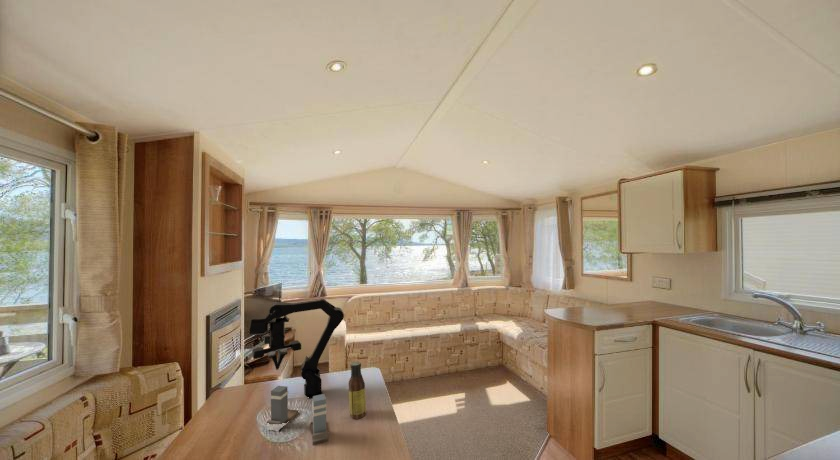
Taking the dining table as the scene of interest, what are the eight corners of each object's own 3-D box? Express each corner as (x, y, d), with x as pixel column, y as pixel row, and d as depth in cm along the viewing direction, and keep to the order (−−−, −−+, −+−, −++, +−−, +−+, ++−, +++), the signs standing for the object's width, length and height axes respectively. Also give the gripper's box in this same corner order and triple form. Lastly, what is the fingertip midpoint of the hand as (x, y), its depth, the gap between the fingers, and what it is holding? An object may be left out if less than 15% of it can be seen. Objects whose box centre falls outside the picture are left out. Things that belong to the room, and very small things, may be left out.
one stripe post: (278, 417, 115) (278, 385, 115) (288, 418, 114) (288, 386, 114) (270, 424, 110) (270, 391, 111) (280, 425, 110) (280, 392, 110)
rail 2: (310, 425, 111) (310, 417, 112) (324, 421, 113) (324, 413, 114) (312, 445, 100) (312, 435, 101) (328, 440, 102) (328, 431, 103)
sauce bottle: (369, 412, 119) (368, 361, 119) (359, 421, 113) (358, 367, 114) (355, 409, 122) (354, 359, 122) (345, 417, 116) (344, 365, 117)
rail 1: (287, 411, 121) (287, 404, 121) (298, 412, 120) (298, 405, 120) (266, 430, 109) (266, 421, 109) (279, 431, 108) (278, 423, 108)
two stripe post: (312, 430, 106) (312, 396, 107) (325, 427, 108) (325, 393, 108) (313, 438, 102) (313, 402, 103) (326, 434, 104) (326, 399, 104)
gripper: (295, 324, 143) (295, 358, 142) (250, 332, 132) (250, 368, 132) (301, 330, 134) (301, 366, 133) (253, 338, 123) (253, 377, 122)
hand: (277, 369), depth 130 cm, fingers closed
